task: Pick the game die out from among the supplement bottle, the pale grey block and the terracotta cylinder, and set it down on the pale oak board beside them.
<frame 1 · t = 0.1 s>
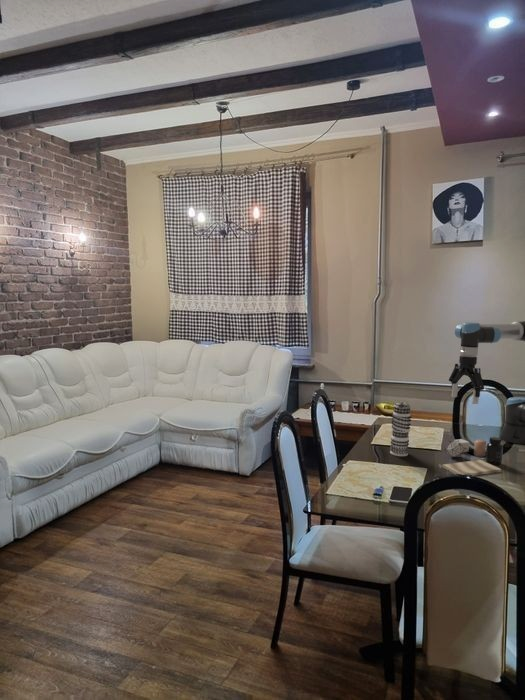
hand: (464, 400, 232), 28 cm above the table, tool pointing down, fingers open, 13 cm apart
supplement bottle: (493, 463, 228), on the table
terracotta cylinder: (479, 455, 239), on the table
game die: (454, 457, 235), on the table
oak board: (471, 469, 220), on the table
tower model: (399, 453, 238), on the table
grey block: (460, 450, 245), on the table
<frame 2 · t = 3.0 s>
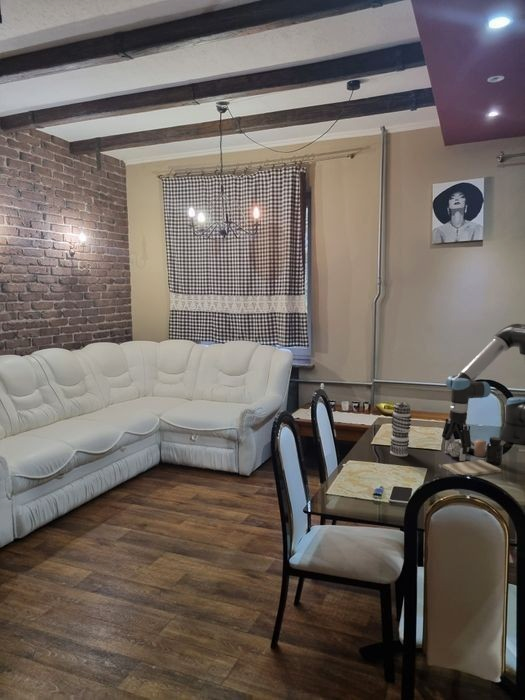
hand: (454, 456, 235), 0 cm above the table, tool pointing down, fingers closed on game die, 9 cm apart
game die: (454, 457, 235), on the table, touching gripper
everything else where it was.
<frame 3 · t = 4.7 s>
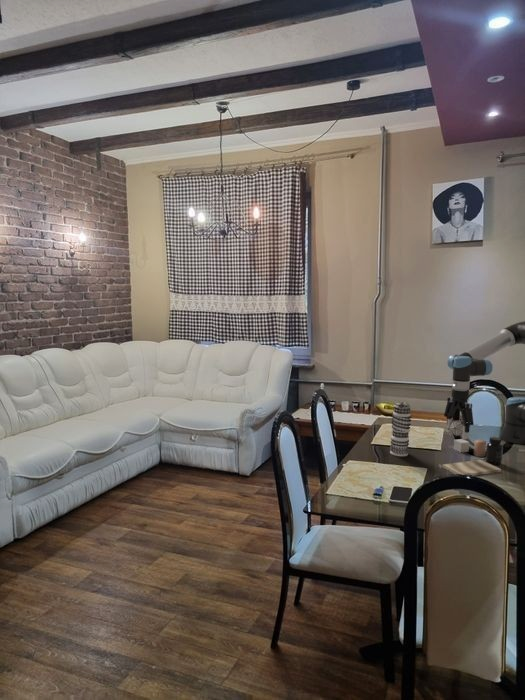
hand: (457, 435, 234), 11 cm above the table, tool pointing down, fingers closed on game die, 9 cm apart
game die: (457, 436, 234), point 10 cm above the table, touching gripper
everything else where it was.
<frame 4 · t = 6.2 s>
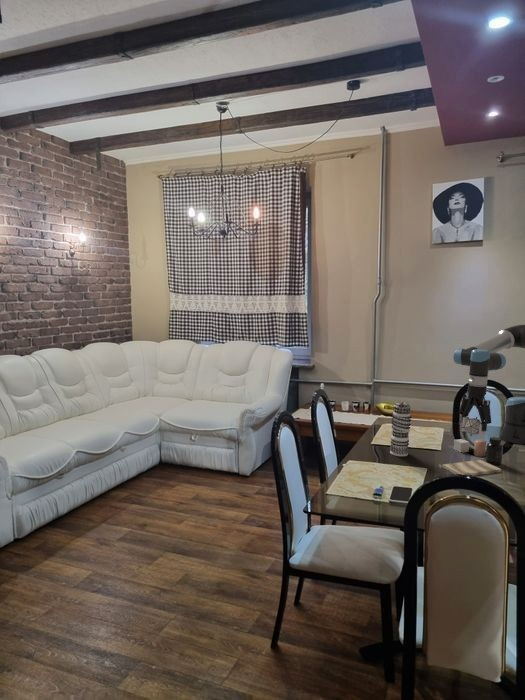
hand: (472, 434, 218), 16 cm above the table, tool pointing down, fingers closed on game die, 9 cm apart
game die: (473, 435, 218), point 15 cm above the table, touching gripper
everything else where it was.
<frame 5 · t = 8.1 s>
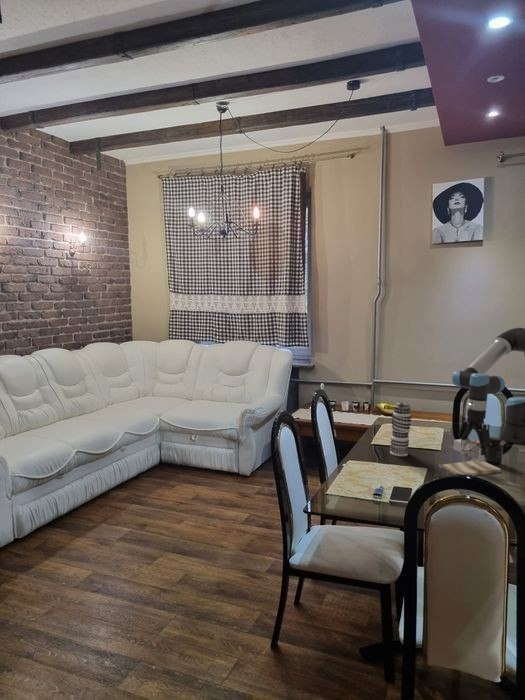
hand: (472, 457, 219), 5 cm above the table, tool pointing down, fingers closed on game die, 9 cm apart
game die: (472, 458, 219), point 5 cm above the table, touching gripper
everything else where it was.
when the fingers open (3 cm above the table, at t = 9.5 s): game die drops 2 cm, resting on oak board.
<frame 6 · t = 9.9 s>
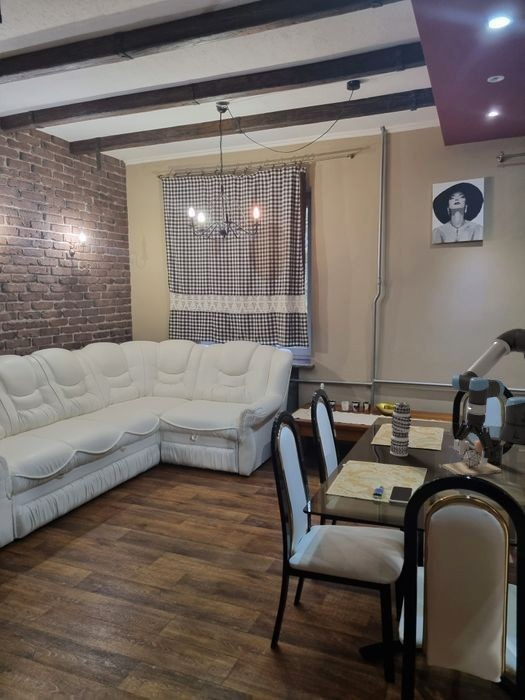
hand: (472, 459, 219), 5 cm above the table, tool pointing down, fingers open, 13 cm apart
game die: (471, 467, 220), point 1 cm above the table, touching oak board
everything else where it was.
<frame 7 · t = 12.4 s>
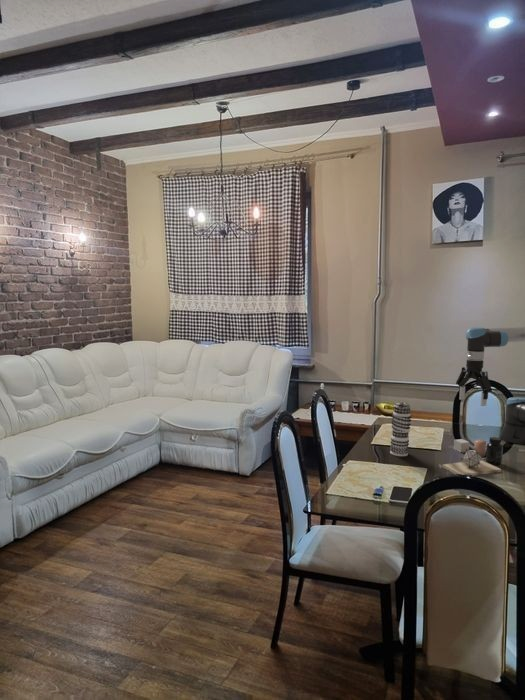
hand: (472, 402, 240), 25 cm above the table, tool pointing down, fingers open, 13 cm apart
nothing on the table moved.
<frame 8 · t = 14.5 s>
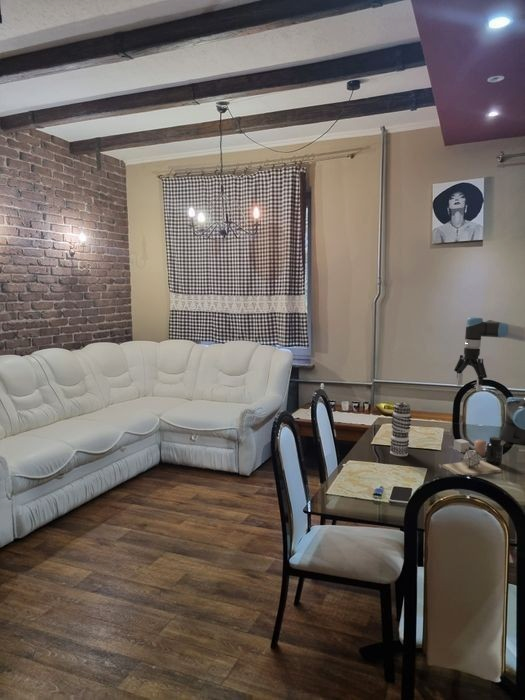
hand: (468, 388, 255), 29 cm above the table, tool pointing down, fingers open, 13 cm apart
nothing on the table moved.
at the end: game die inside the target area on the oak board (0.2 cm from its centre), point 1.0 cm above the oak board's base; the gripper is holding nothing; grey block moved 0.1 cm from its start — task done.
